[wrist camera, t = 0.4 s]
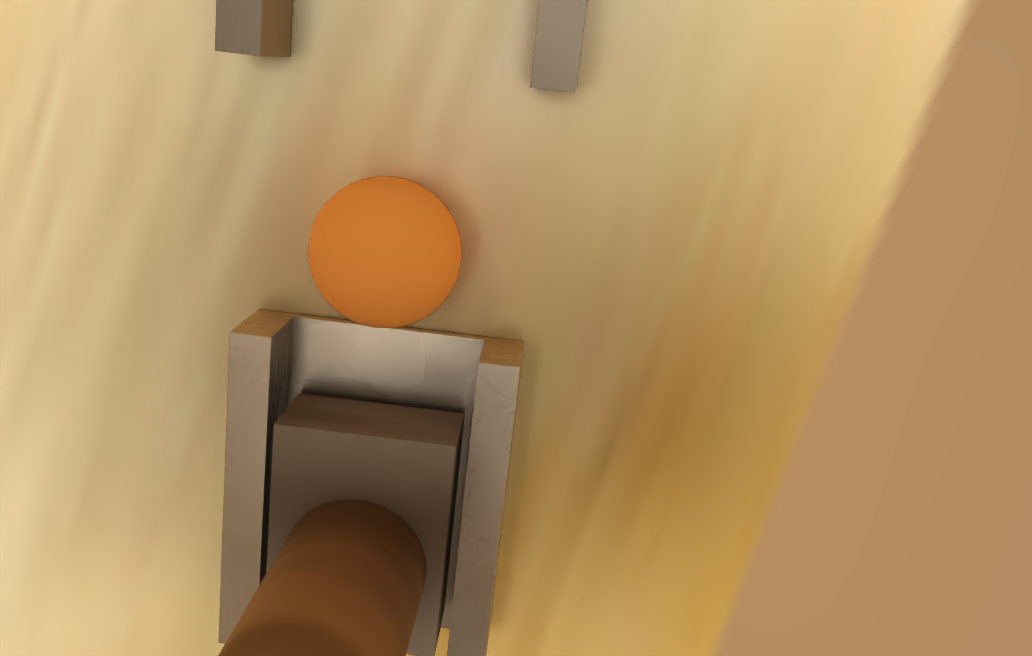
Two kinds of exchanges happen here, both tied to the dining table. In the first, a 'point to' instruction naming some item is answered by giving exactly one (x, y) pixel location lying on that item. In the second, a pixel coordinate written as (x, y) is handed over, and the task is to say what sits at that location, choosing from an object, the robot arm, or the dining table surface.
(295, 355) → the track
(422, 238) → the ball
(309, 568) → the slider
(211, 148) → the dining table surface
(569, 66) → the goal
